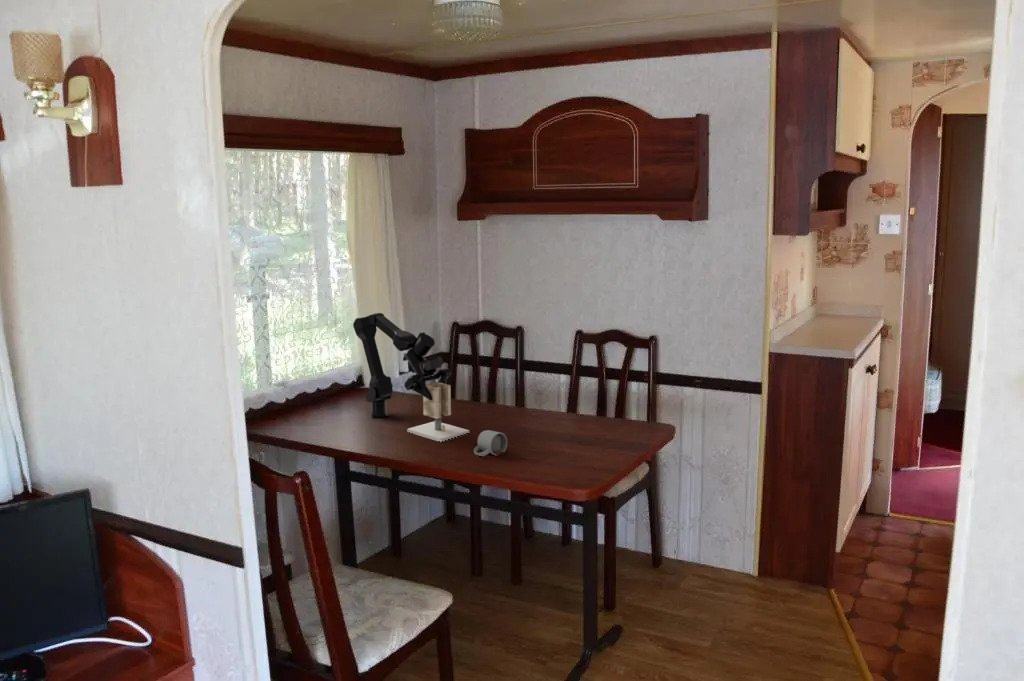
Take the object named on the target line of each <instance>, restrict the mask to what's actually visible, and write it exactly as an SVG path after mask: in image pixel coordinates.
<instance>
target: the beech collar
mask: <svg viewBox="0 0 1024 681" xmlns="http://www.w3.org/2000/svg"><path fill="white" fill-rule="evenodd" d="M426 387H427V389H428V390H429V392H430V394H431V396H432V398H433V399H432V400H429V399H428V398H426V397H424V396H423V395H422V399H423V400H422V401H423V402H422V403H423V405H422V406H423V414H422V415H423V416H426V417H430V418H433V419H435V418H436V419H437V418H441V419H442V415H443V416H445V417H447V416H451V415H452V408H451V407H452V403H451V402H452V395H451V393H452V392H451V391H452V390H451V389H452V388H451V384H447V383H446V384H443V383H439V382H436V381H435V382H432V383H428V384H427V383H426Z"/></svg>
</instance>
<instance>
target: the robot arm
mask: <svg viewBox="0 0 1024 681" xmlns="http://www.w3.org/2000/svg"><path fill="white" fill-rule="evenodd" d="M353 321H354V322H353V323H352V326H353V330H354V331H355V332H354V333H355V335H356V336H357V337H358V338H359V339H360V341H361V342H362V345H363V349H364V353H365V354H364V355H365V358H366V361H367V365H368V369H369V373H370V380H369V383H368V388H369V390H368V391H367V393H366V394H365V396H364V398H365V401H366V402H368V403H370V410H371V412H369V413H368V414H369V416H370V417H371V418H372V419H374V418H375V419H376V418H386V416H388V417H389V414H388V413H387V400H391V399H392V394H393V389H394V388H393V383H392V379H391V378H392V377H391V376H387V375H386V374H385V373H384V369H383V365H382V362H381V357H380V353H379V350H378V345H377V342H376V335H377V334H376V333H377V331H378V330H377V328H378V329H379V330H380V331H381V332H382V333H384V334H385V335H386V336H387V337H389V338H390V339H391V340H392V344H393V346H394V347H395V348H396V349H397V351H399V352H404V351H407V352H406V353H403V357H402V361H403V362H405V361H408V363H409V365H410V367H411V368H412V370H411V373H412V374H413V375H410V376H409V377H408V378H407V380H406V381H405V382H404V388H405V390H406V391H411V390H412V392H416V393H418V394H420V395H421V396H422V397H423V396H424V397H426V398H428V399H429V400H432V399H433V398H432V396H431V394H430V392H429V390H428V389H427V387H426V385H427V383H426V382H430V381H435V383H436V382H439V383H443V384H447V381H446V380H447V379H448V378H449V377H450V376H451V375H452V371H451V370H450V368H448V367H446V368H442V367H443V365H444V364H445V362H444V359H443V358H442V356H437V357H434V359H430V360H429V359H426V358H425V356H427V355H428V353H430V351H431V350H432V348H433V347H434V346H435V344H436V343H435V339H434V338H433V337H432V336H430V335H429V334H426V333H425V332H419V333H418V336H416V335H415V334H413V333H411V332H410V331H407V330H402V329H401V328H400V327H399V326H397V325H396V324H394V322H392V321H391V320H390V319H389V318H387V317H386V316H385V314H384V313H382V312H375V313H371V314H369V315H367V316H364V317H356V318H355V319H354V320H353ZM439 368H441V369H439ZM437 369H439V370H438V371H437ZM434 373H435V374H434Z"/></svg>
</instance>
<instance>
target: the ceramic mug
mask: <svg viewBox="0 0 1024 681" xmlns="http://www.w3.org/2000/svg"><path fill="white" fill-rule="evenodd" d="M476 443H477V446H475V447H474V449H473V453H474V455H475V454H476V455H479V456H482V457H485V456H487V455H488V454H490V453H491V455H494V456H497V455H496V454H494V453H493V452H497V451H500V452H504V453H505V451H506V450H507V447H508V438H507V436H506V434H505V433H504V432H500V431H495V430H489V429H487V430H483V431H482V432H480V433H479V435H478V437H477V441H476ZM480 450H482V451H481V452H478V451H480ZM476 455H475V456H476Z"/></svg>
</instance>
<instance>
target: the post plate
mask: <svg viewBox="0 0 1024 681" xmlns="http://www.w3.org/2000/svg"><path fill="white" fill-rule="evenodd" d="M406 431H407V433H409V432H410V434H412V433H413V435H416V436H419V437H423V438H426V439H429V440H433V441H437V442H439V441H440V443H442V441H443V442H446V441H449V440H448V439H450V440H452V439H451V438H453V439H455V438H454V437H456V438H458V437H457V436H460V435H463V434H466V433H469V434H470V430H469V429H466V428H462V427H458V426H455V425H453V424H448V423H446V422H445V423H443V422H442V417H441V418H437V419H436V418H434V421H430V422H427V423H424V424H419V425H416V426H413V427H409V428H407V429H406ZM466 435H467V434H466ZM463 436H464V435H463ZM460 437H461V436H460ZM445 440H446V441H445Z"/></svg>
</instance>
